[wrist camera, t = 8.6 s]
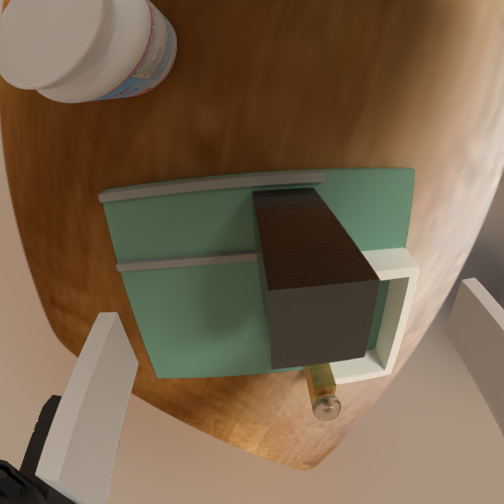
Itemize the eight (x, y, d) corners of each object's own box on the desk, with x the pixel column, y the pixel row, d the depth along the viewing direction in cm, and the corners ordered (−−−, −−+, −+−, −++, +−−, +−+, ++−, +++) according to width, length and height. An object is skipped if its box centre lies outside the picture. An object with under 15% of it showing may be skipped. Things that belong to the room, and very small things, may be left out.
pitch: (103, 189, 21) (97, 194, 20) (410, 167, 21) (418, 171, 20) (158, 373, 29) (156, 382, 28) (378, 353, 30) (382, 361, 29)
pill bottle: (81, 88, 17) (-35, 103, 7) (109, 5, 15) (12, -44, 5) (161, 106, 18) (87, 126, 9) (194, 20, 16) (152, -49, 6)
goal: (322, 250, 24) (334, 275, 21) (400, 244, 24) (420, 266, 21) (315, 358, 29) (322, 386, 26) (378, 348, 29) (390, 374, 26)
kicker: (251, 191, 21) (268, 290, 11) (319, 187, 21) (389, 278, 11) (262, 346, 27) (274, 462, 17) (312, 341, 27) (342, 452, 17)
